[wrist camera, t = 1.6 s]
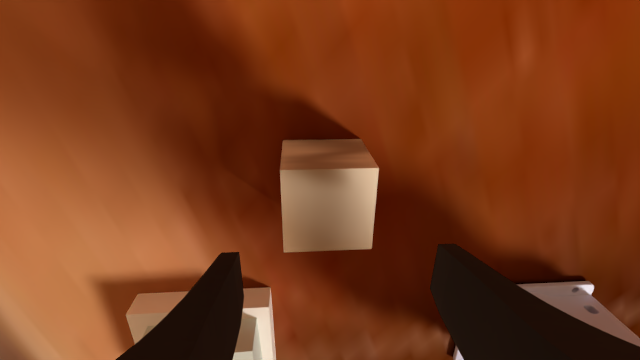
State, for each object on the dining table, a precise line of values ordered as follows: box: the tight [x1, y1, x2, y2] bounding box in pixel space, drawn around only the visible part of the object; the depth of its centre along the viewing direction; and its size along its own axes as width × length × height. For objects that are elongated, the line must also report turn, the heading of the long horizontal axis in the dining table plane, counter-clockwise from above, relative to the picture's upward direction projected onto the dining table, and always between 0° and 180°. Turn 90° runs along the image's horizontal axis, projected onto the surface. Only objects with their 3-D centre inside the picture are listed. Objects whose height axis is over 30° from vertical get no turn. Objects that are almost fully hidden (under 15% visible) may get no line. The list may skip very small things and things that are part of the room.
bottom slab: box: [126, 287, 276, 360], centre depth 24 cm, size 9×9×2 cm
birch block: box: [280, 139, 379, 252], centre depth 18 cm, size 4×4×4 cm
